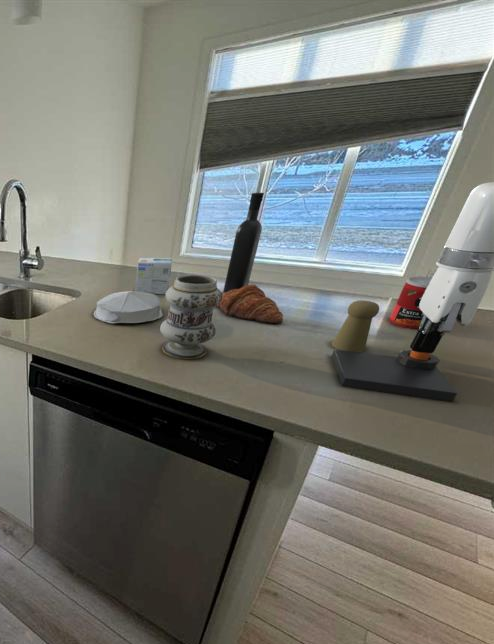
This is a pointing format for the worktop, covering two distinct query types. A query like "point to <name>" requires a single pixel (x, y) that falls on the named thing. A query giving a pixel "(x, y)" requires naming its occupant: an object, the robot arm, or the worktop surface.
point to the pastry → (250, 305)
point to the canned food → (410, 303)
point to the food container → (128, 307)
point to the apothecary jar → (190, 315)
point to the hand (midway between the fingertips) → (420, 350)
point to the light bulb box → (153, 275)
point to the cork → (356, 326)
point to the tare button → (420, 355)
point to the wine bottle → (245, 247)
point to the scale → (393, 374)
